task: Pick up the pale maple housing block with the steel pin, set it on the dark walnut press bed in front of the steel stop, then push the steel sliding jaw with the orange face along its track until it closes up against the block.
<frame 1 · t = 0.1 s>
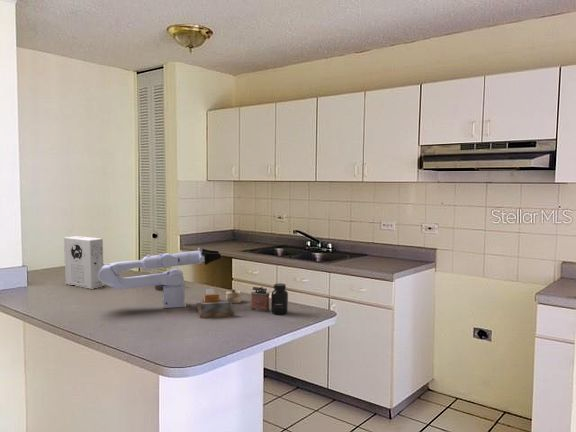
hand: (219, 254, 217), 22 cm above the countertop, tool horizontal, fingers open, 7 cm apart
lighter: (260, 310, 206), on the countertop
supplement bottle: (279, 313, 202), on the countertop
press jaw: (210, 295, 218), point 3 cm above the countertop, slide at 0.0 cm
press bed: (213, 310, 206), on the countertop
housing: (233, 302, 221), on the countertop
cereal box: (84, 286, 254), on the countertop
jar: (164, 289, 247), on the countertop
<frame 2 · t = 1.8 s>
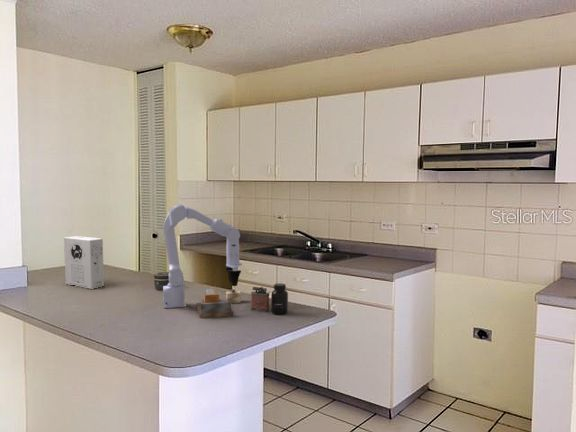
hand: (233, 284, 220), 8 cm above the countertop, tool pointing down, fingers open, 7 cm apart
nothing on the countertop moved.
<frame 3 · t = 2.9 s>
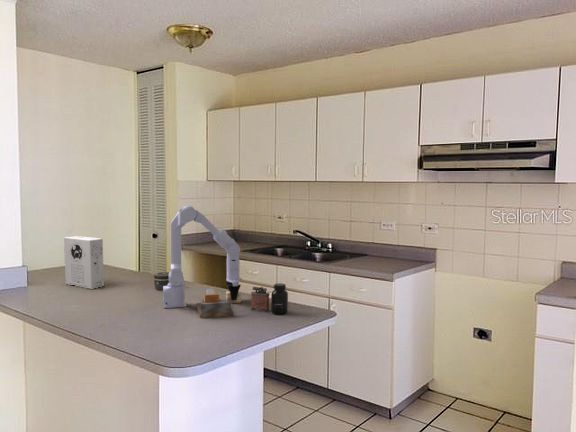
hand: (233, 298, 220), 1 cm above the countertop, tool pointing down, fingers closed on housing, 4 cm apart
housing: (233, 301, 221), on the countertop, touching gripper
everything else where it was.
when the fingers open (3 cm above the countertop, at t = 6.8 s): housing stays where it is, resting on press bed.
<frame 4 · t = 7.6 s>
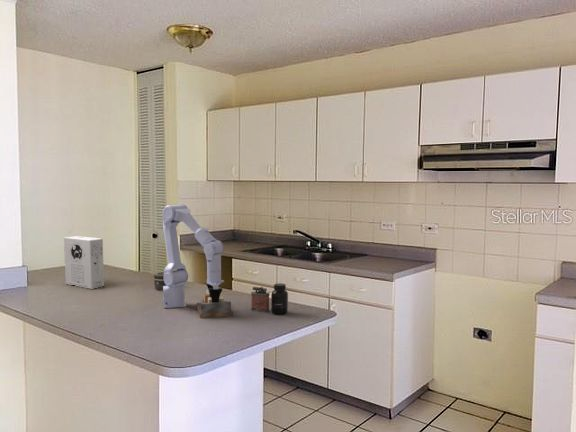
hand: (214, 302, 203), 4 cm above the countertop, tool pointing down, fingers open, 7 cm apart
housing: (215, 308, 203), point 1 cm above the countertop, touching press bed
everything else where it was.
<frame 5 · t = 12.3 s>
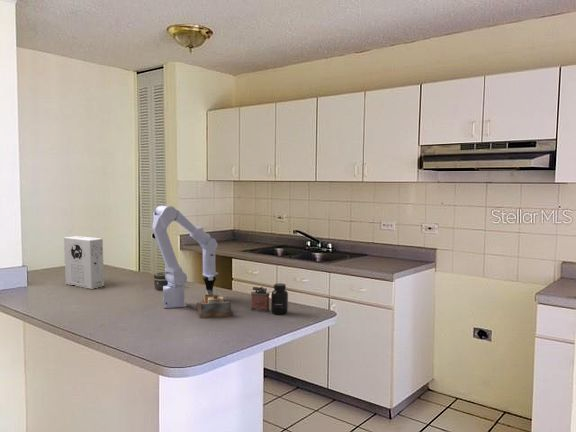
hand: (209, 292, 224), 3 cm above the countertop, tool pointing down, fingers closed
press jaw: (211, 296, 217), point 3 cm above the countertop, slide at 1.2 cm, touching gripper
everything else where it was.
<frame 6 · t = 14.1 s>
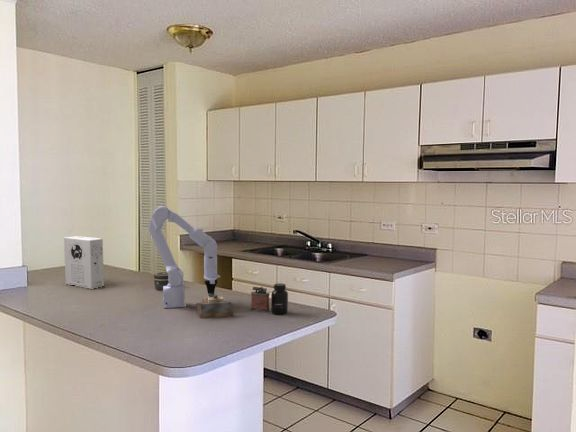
hand: (211, 296, 217), 3 cm above the countertop, tool pointing down, fingers closed, pressing on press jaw
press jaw: (212, 299, 211), point 3 cm above the countertop, slide at 7.7 cm, touching gripper
everything else where it was.
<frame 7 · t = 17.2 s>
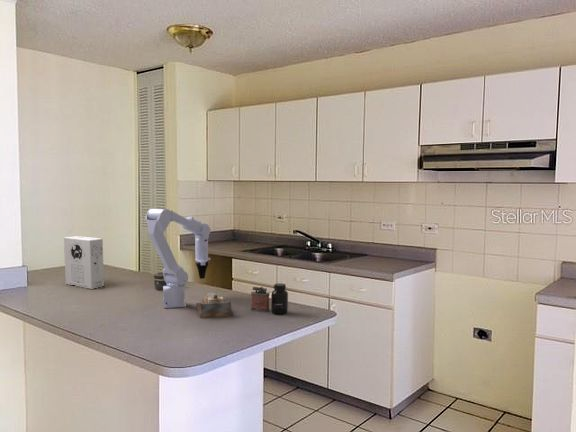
hand: (202, 278, 226), 9 cm above the countertop, tool pointing down, fingers closed
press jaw: (212, 299, 211), point 3 cm above the countertop, slide at 7.5 cm
everything else where it was.
at the end: housing 0.5 cm from the target spot on the press bed, point 1.5 cm above the press bed's base; housing tilted 0°; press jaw slide at 7.5 cm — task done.
